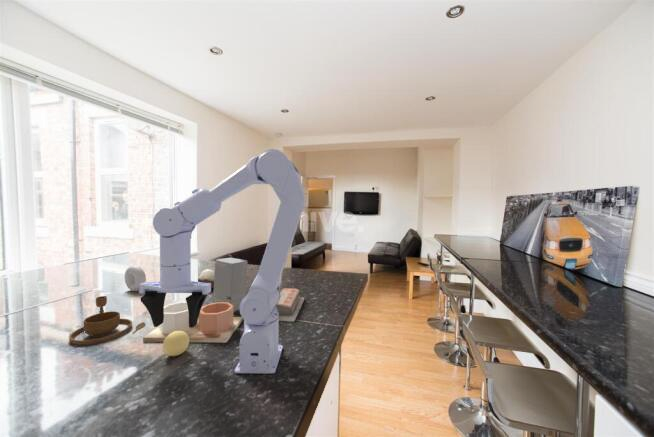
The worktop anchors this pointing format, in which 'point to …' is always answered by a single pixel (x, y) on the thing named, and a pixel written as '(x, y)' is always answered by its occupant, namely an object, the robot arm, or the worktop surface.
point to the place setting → (102, 325)
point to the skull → (207, 277)
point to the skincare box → (230, 281)
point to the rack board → (196, 334)
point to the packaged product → (289, 304)
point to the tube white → (175, 318)
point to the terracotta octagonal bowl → (215, 318)
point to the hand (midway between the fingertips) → (176, 325)
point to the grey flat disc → (134, 277)
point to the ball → (176, 343)
